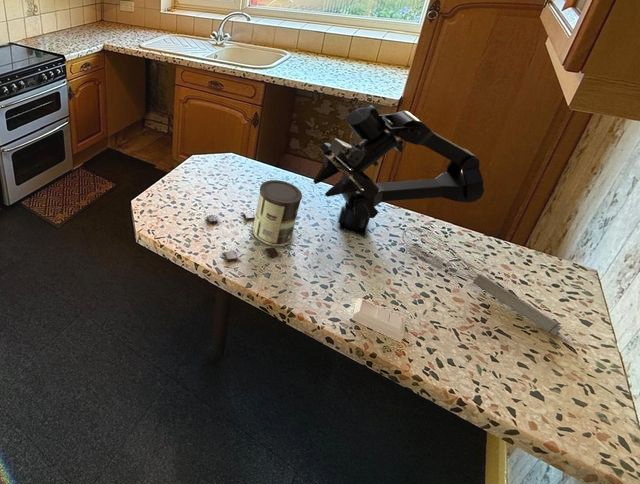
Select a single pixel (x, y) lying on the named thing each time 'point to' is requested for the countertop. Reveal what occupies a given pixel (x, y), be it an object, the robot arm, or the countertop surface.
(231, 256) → the tabs
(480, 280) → the kitchen whisk
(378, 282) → the countertop surface
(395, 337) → the soap bar
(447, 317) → the countertop surface
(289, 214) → the coffee can
